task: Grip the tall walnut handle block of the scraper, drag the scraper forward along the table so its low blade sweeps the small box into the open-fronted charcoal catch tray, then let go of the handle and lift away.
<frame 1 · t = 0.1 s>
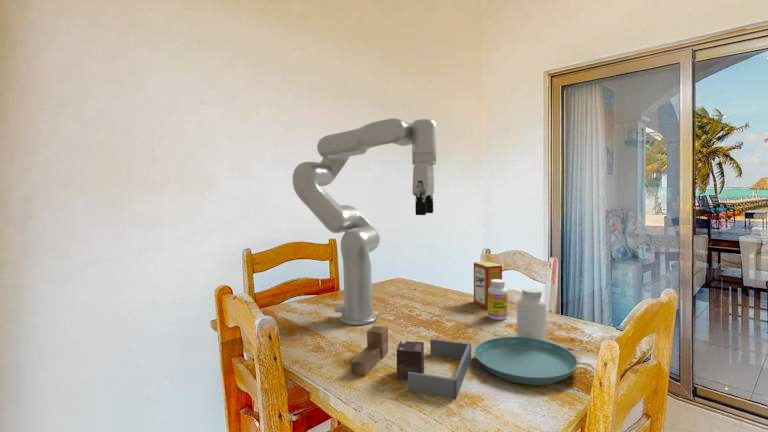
hand: (424, 214, 128), 37 cm above the table, tool pointing down, fingers open, 9 cm apart
baking soda box: (487, 304, 154), on the table
saucer: (524, 367, 101), on the table
pill bottle: (531, 341, 117), on the table
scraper: (371, 361, 105), on the table
supplement bottle: (497, 317, 139), on the table
box: (410, 376, 97), on the table
catch tray: (440, 372, 98), on the table
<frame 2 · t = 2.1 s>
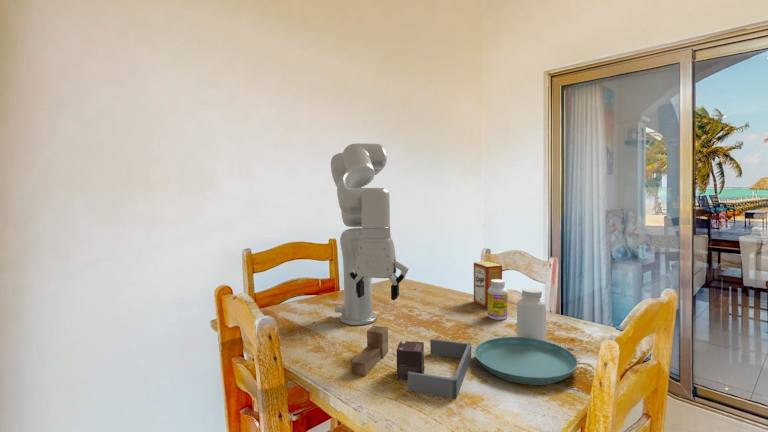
hand: (377, 297, 108), 16 cm above the table, tool pointing down, fingers open, 9 cm apart
nothing on the table moved.
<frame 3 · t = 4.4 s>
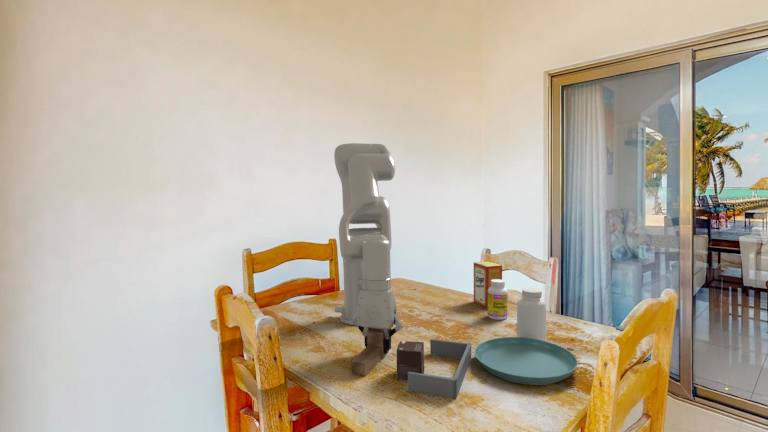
hand: (377, 349, 109), 1 cm above the table, tool pointing down, fingers closed on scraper, 4 cm apart
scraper: (371, 361, 104), on the table, touching gripper
everything else where it was.
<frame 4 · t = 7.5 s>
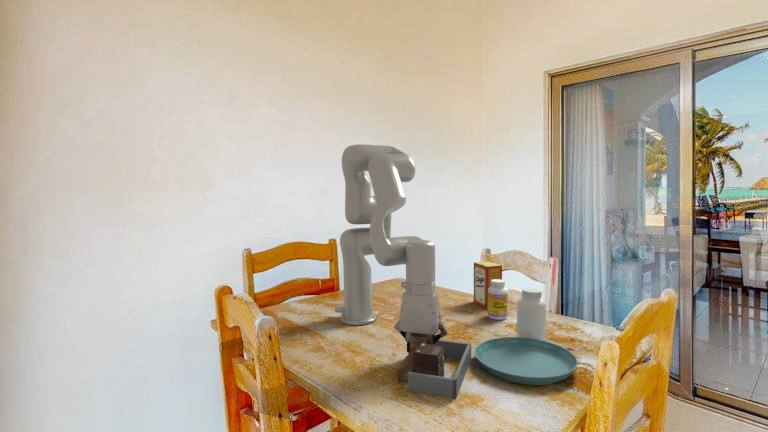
hand: (420, 355, 105), 1 cm above the table, tool pointing down, fingers closed on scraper, 4 cm apart
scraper: (414, 367, 100), on the table, touching box, gripper
box: (429, 379, 95), on the table, touching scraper
everything else where it was.
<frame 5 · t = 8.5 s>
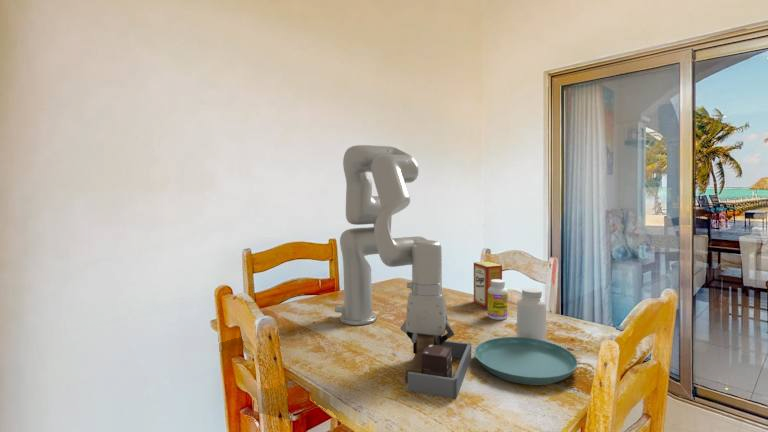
hand: (427, 357, 104), 1 cm above the table, tool pointing down, fingers closed on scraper, 4 cm apart
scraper: (422, 369, 100), on the table, touching box, gripper
box: (437, 381, 94), on the table, touching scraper
everything else where it was.
when the fingers open (1 cm above the table, at t = 9.6 s): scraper stays where it is, on the table.
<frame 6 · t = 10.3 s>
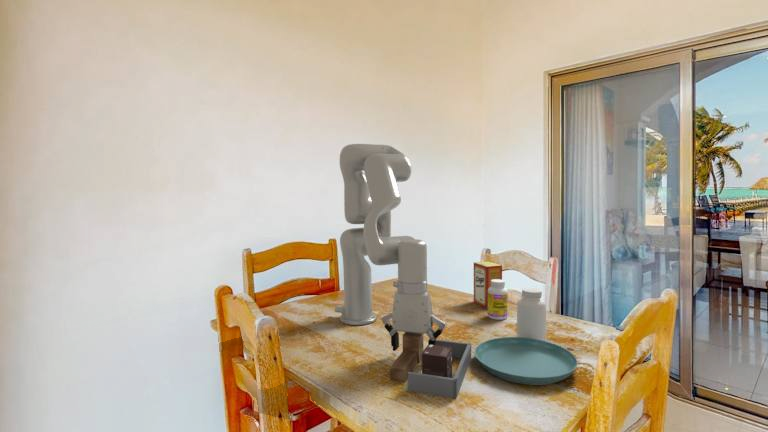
hand: (413, 351, 106), 2 cm above the table, tool pointing down, fingers open, 9 cm apart
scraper: (407, 367, 101), on the table
box: (437, 381, 94), on the table
everything else where it was.
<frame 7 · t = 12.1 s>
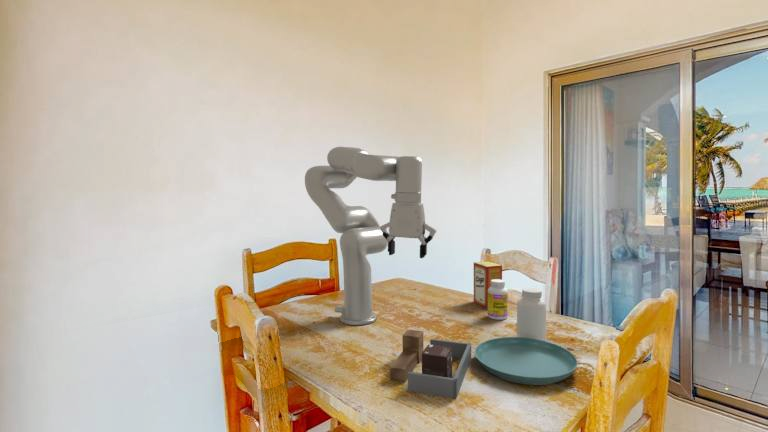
hand: (406, 255, 120), 25 cm above the table, tool pointing down, fingers open, 9 cm apart
nothing on the table moved.
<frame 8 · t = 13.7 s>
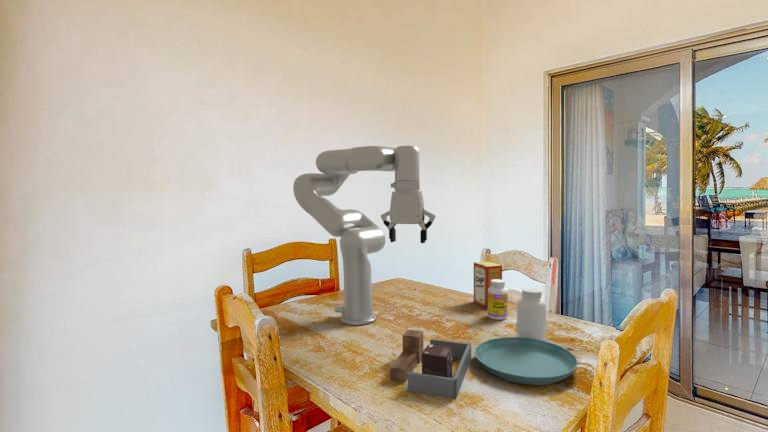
hand: (407, 242, 124), 28 cm above the table, tool pointing down, fingers open, 9 cm apart
nothing on the table moved.
at the end: box inside the target area (4.0 cm from its centre), on the table; box moved 6.6 cm from its start; the gripper is holding nothing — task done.
